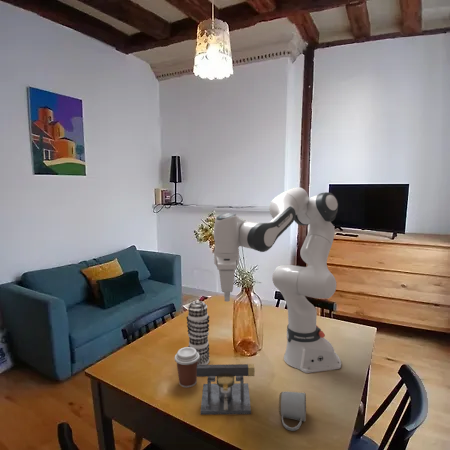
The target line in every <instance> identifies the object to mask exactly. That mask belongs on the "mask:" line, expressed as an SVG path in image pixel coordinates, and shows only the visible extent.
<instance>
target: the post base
mask: <svg viewBox="0 0 450 450" xmlns="http://www.w3.org/2000/svg"><path fill="white" fill-rule="evenodd" d="M216 378H217V376H210V377H207V383H203V387H202V396H201V405H200V415H204V416H207V415H214V416H215V415H251V414H252V409H251V398H250V389H249V383H244V380H245V379H244V378H245V377H244V376H235V382H238V383H234V385H233V386H231V387H229V388H228V391H223V388H222V387H220V386H218V385H217V383H212V382H216Z"/></svg>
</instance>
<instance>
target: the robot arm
mask: <svg viewBox="0 0 450 450" xmlns="http://www.w3.org/2000/svg"><path fill="white" fill-rule="evenodd" d="M268 208H269V214H270V216H271V218H272V219H271V220H270V221H268V222H256V221H249V220H248V221H247V220H245V219H242V218H240V217H239V216H238V215H237V213H234V212H228V213H225V212H224V213H222V214H219V215H218V216H216V218H215V221H214V227H213V228H214V229H213V240H214V251H213V253H214V254H213V255H214V257H213V258H214V259H213V260H214V265H215V266H216V267H217V270H218V272H219V281H220V288H221V292H222V293H223V295H224V302H230V298H231V293H232V292H233V290H234V283H235V273H236V270H237V267H238V265H239V264H240V255H239V254H240V247H243V248H246V249H250V250H251V249H252V250H254V251H258V252H260V253H266V252H267V251H269V250H271V248H272V247H273V246H274V244H275V243H276V241H277V240H278V238H279V237H280V236H281V235H282V234H283V233H284V232H286V230H287V229H288V228H289V227H290V226H292V224H293V223H294V222H295V223H296V224H297V225H298V226H309V230H308V232H307V235H306V237H305V239H304V241H303V243H302V246H301V248H300V251H299V252H300V257H301V259H302V261H303V262H304V263H305V264H307V266H300V265H294V264H293V265H292V264H282V265H278V266H276V267H275V269H274V271H273V272H272V276H271V277H272V283H273V285H274V287H275V288H276V289H277V290H278V291H279V292H280V293H281V295H282V297H283V299H284V302H285V303H286V308H287V316H288V317H287V326H286V347H285V353H284V355H283V360H284V362H285V363H286V364H287V365H288V366H291V367H292V368H295V369H297V370H299V371H302V372H303V373H305V374H308V373H318V372H325V371H333V370H339V369H341V367H342V361H341V358H340V357H339V355H338V354H337V353H336V352H335V349H334V346H333V344H332V343H331V342H330V341H329V340H328V339H326V338H325V337H326V335H325V333H324V331H322V329H321V328H320V327H319V326H318V325H317V309H316V307H315V306H314V304H312V303H311V302H310V301H309V300H308V299H307V297H309V298H314V299H330V298H331V297H333V296H334V294H335V292H336V290H337V280H336V277H335V276H334V274H333V273H332V272H331V271H330V270H329V268H328V265H327V264H328V263H327V262H328V257H329V256H330V252H331V249H332V245H333V243H334V238H335V233H336V230H335V225H334V224H333V223H332V222H333V221H334V220H335V219H336V218H337V214H338V209H339V201H338V199H337V197H336V196H335V195H334V194H333V193H331V192H327V191H326V192H320V193H318V194H316V195H313V196H311V197H310V196H309V194H308V192H307V191H306V189H304V188H303V187H300V186H299V187H298V186H295V187H292V188H289V189H287V190H285V191H283V192H281V193H279V194H278V195H276V196H275V197H273V199H272V200H271V201H270V202H269V207H268Z"/></svg>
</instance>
